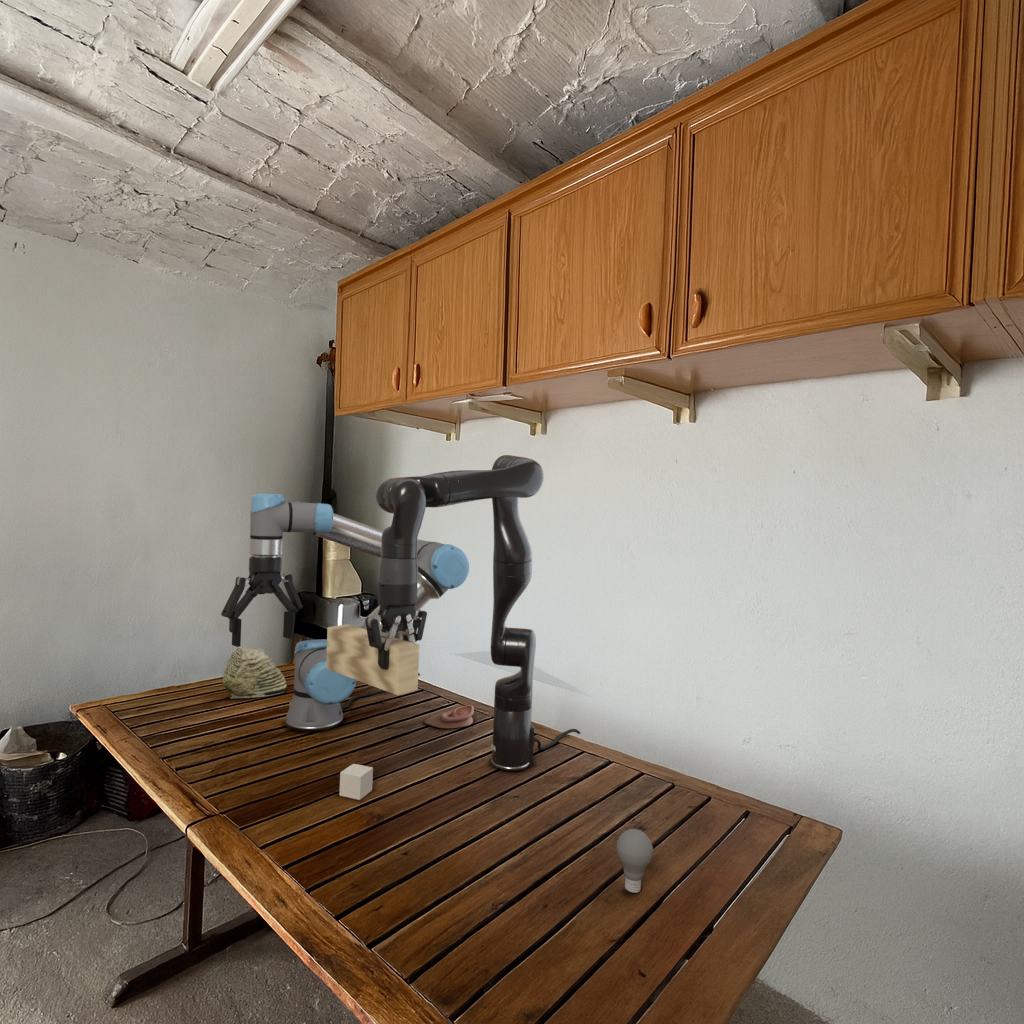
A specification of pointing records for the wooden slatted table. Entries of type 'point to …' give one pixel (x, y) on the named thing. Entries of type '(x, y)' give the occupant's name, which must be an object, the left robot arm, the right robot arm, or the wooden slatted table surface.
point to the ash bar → (372, 660)
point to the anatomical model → (452, 718)
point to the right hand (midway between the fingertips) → (395, 665)
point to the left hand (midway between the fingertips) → (262, 641)
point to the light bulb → (634, 857)
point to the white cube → (356, 781)
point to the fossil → (252, 674)
